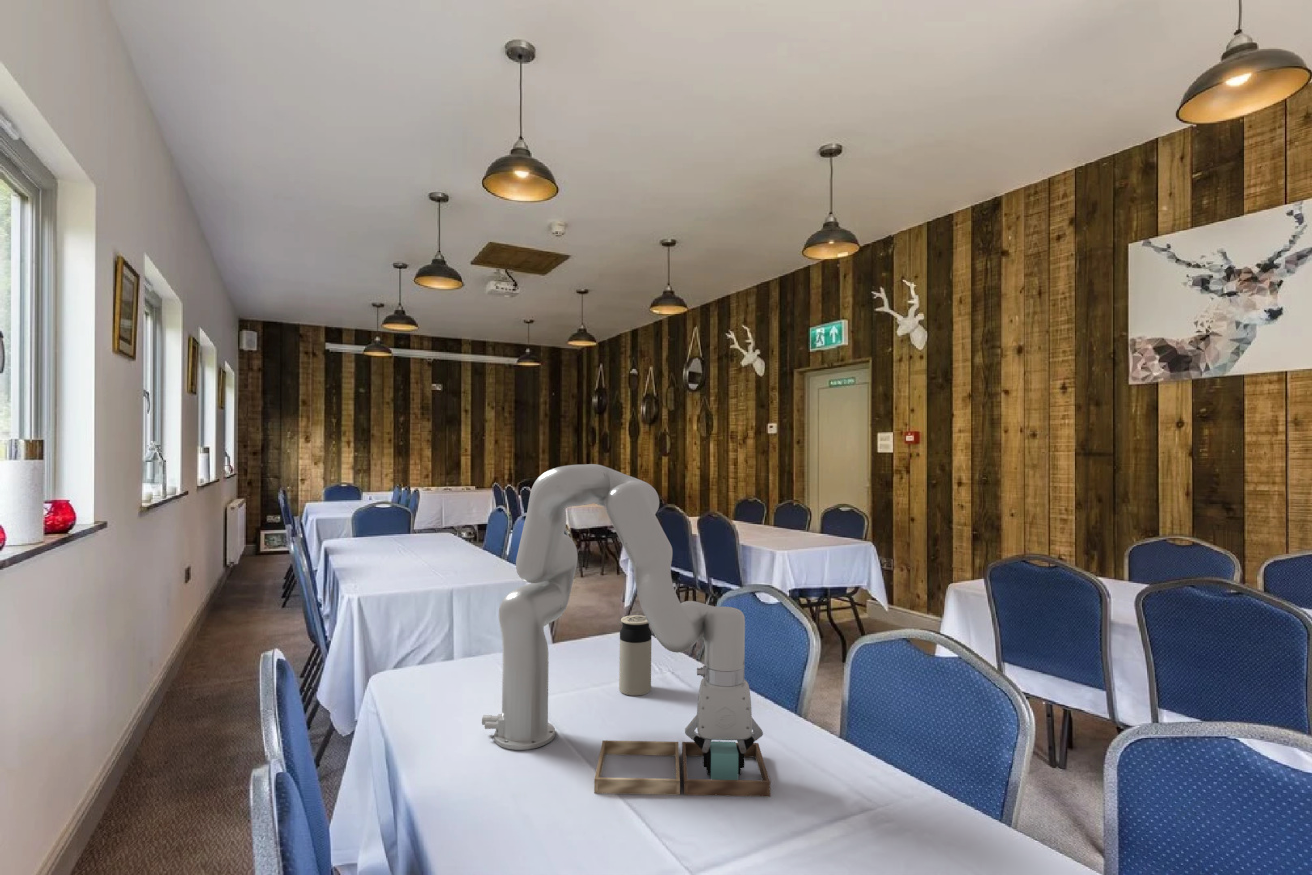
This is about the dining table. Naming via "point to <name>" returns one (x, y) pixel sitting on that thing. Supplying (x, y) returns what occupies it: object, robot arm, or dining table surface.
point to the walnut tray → (725, 785)
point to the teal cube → (724, 761)
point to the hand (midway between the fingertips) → (723, 770)
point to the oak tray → (637, 783)
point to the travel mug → (635, 656)
